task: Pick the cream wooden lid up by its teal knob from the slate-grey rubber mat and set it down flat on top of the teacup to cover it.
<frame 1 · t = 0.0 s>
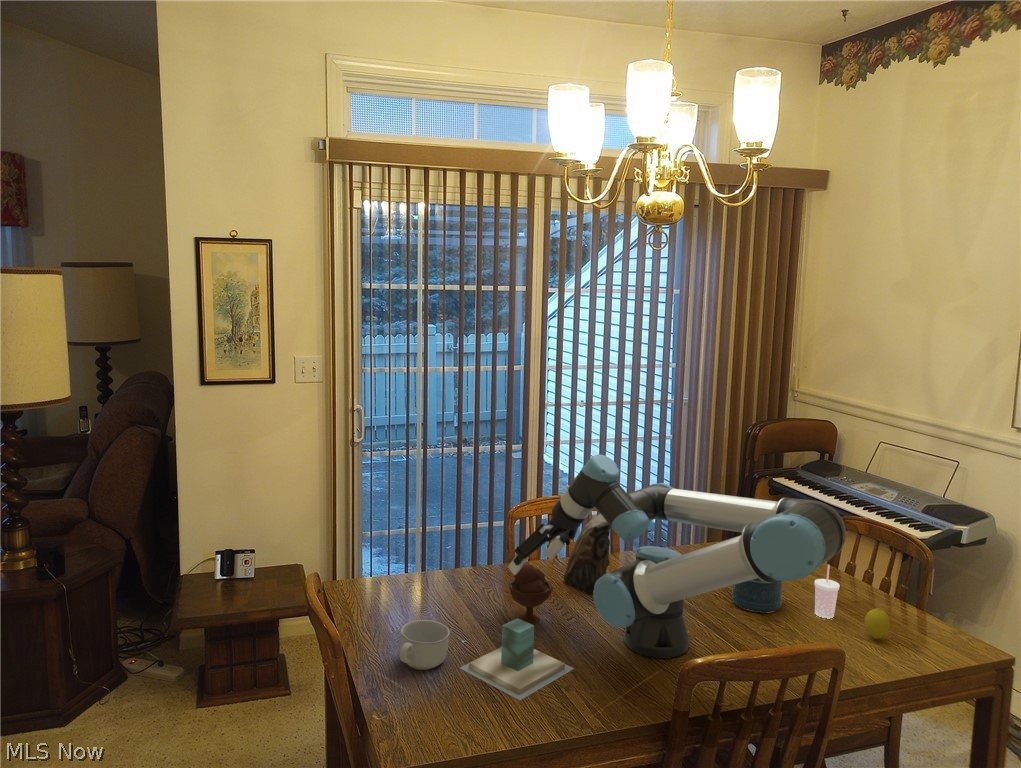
hand: (530, 563, 189), 15 cm above the table, tool tilted 35°, fingers open, 13 cm apart
lid: (517, 668, 168), resting on mat
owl: (586, 584, 216), on the table
canister: (756, 604, 206), on the table
lemon: (875, 639, 187), on the table
beverage cup: (824, 616, 199), on the table
teacup: (419, 667, 168), on the table
ice cream bowl: (529, 621, 192), on the table
mat: (516, 669, 168), on the table
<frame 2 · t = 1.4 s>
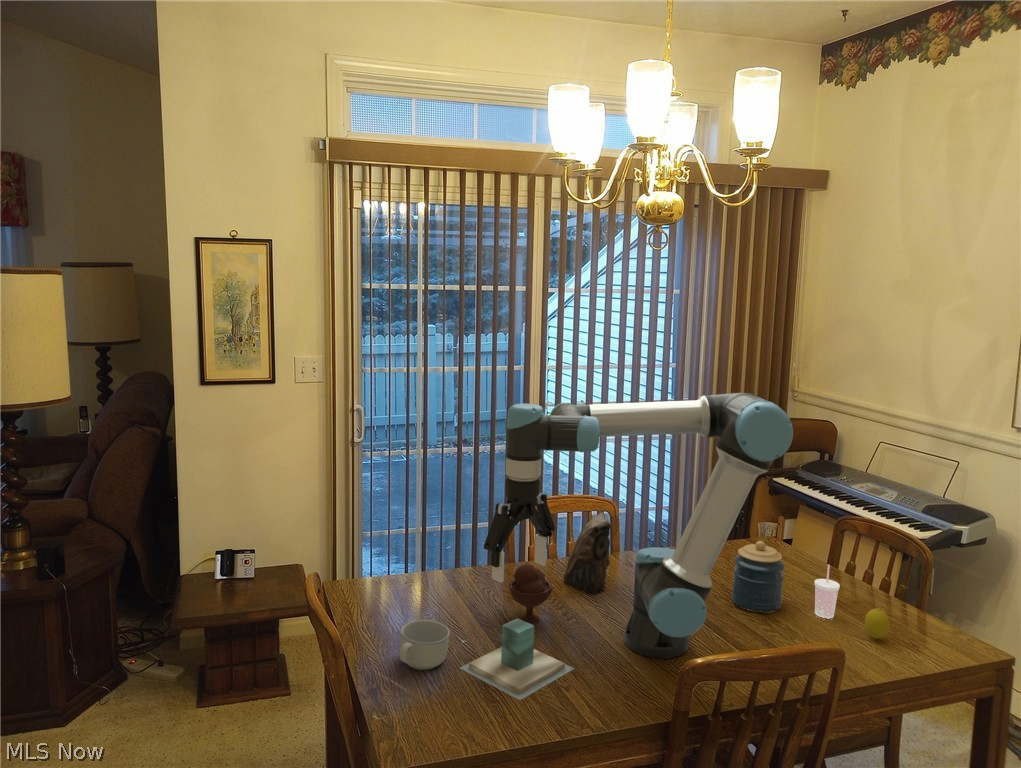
hand: (519, 572, 165), 23 cm above the table, tool pointing down, fingers open, 13 cm apart
nothing on the table moved.
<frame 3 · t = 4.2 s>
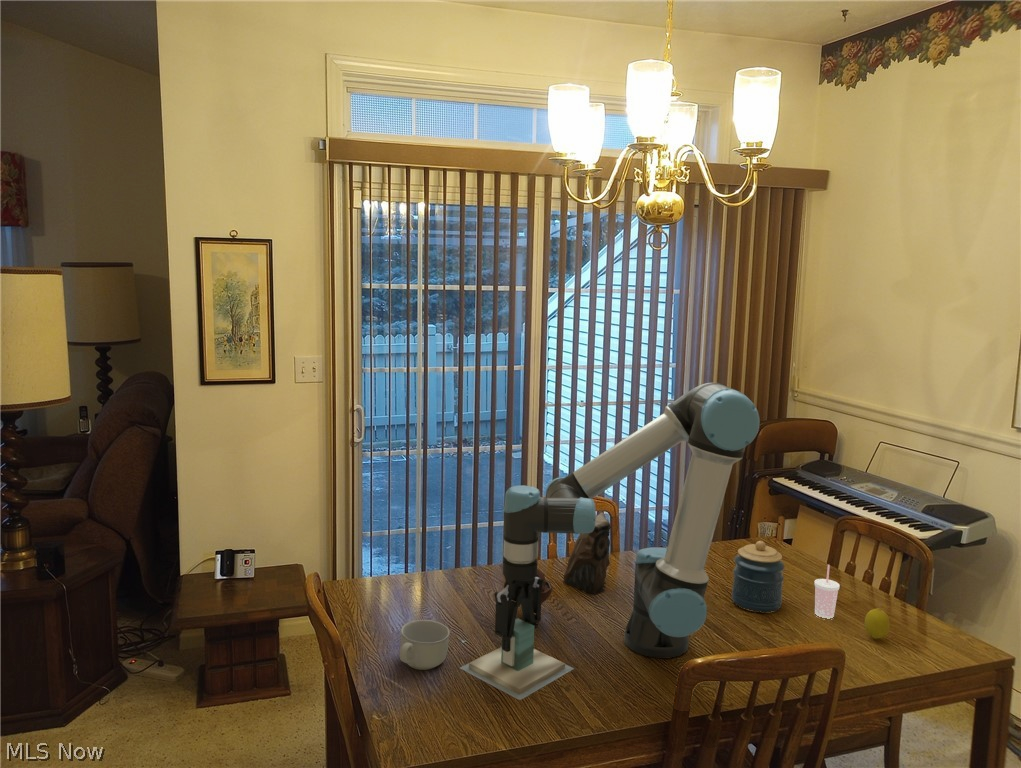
hand: (517, 658, 167), 3 cm above the table, tool pointing down, fingers closed on lid, 5 cm apart
lid: (517, 668, 168), resting on mat, touching gripper
everything else where it was.
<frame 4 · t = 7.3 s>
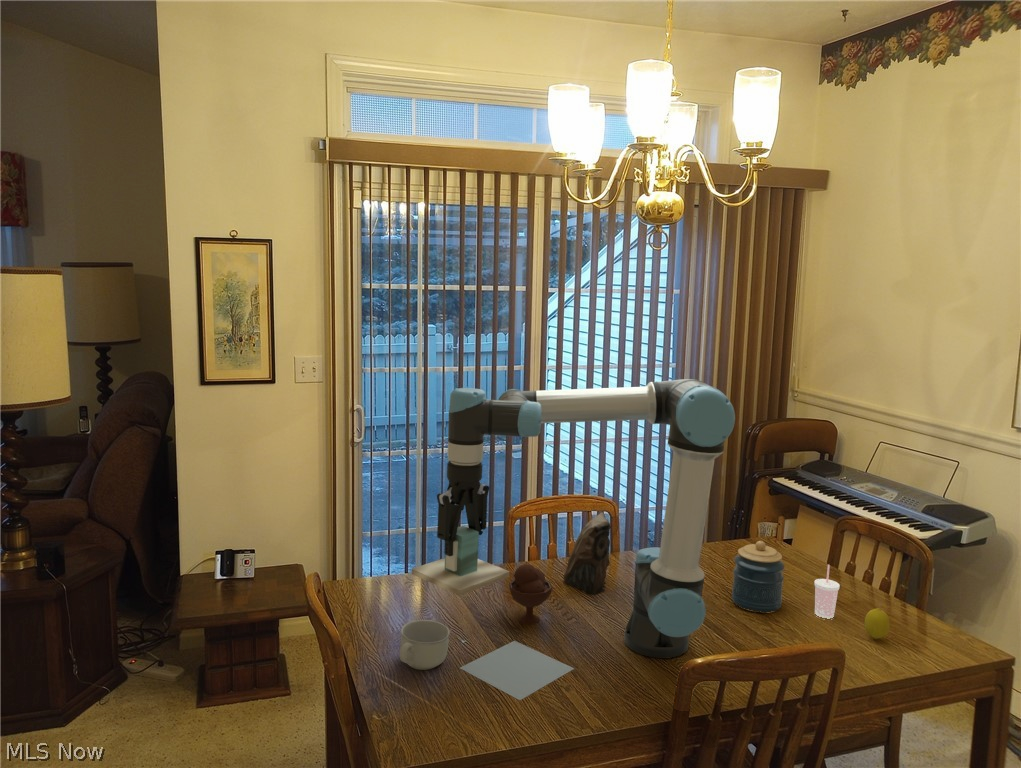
hand: (460, 565, 165), 24 cm above the table, tool pointing down, fingers closed on lid, 5 cm apart
lid: (460, 575, 165), point 21 cm above the table, touching gripper
everything else where it was.
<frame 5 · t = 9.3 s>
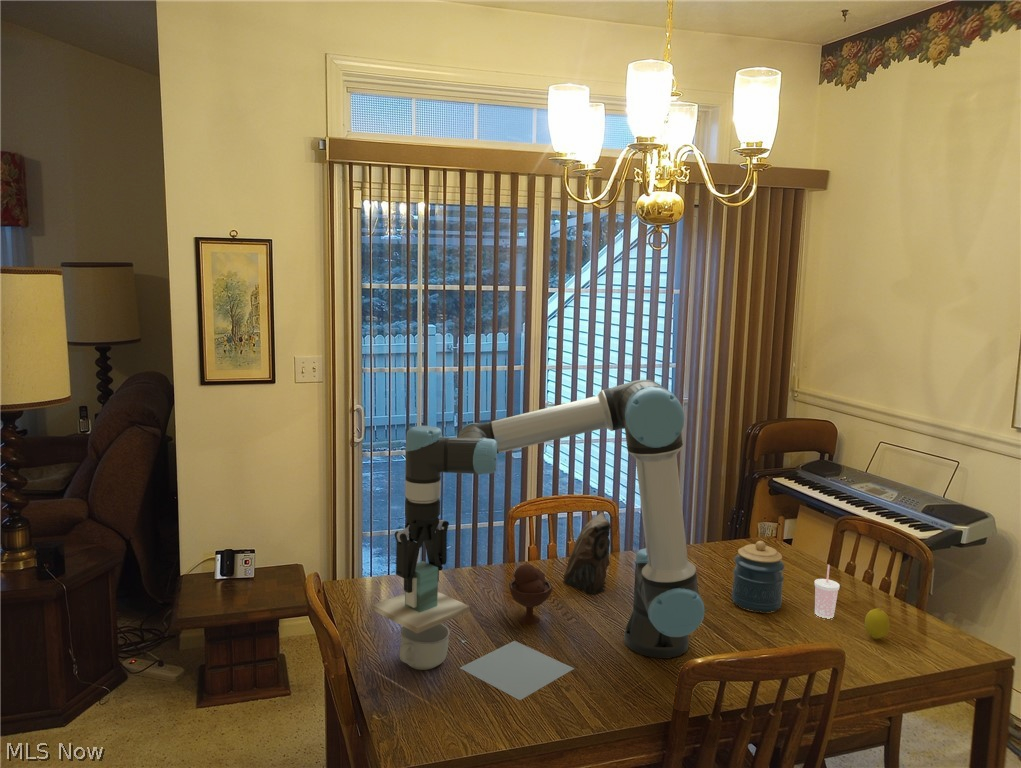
hand: (421, 601, 166), 15 cm above the table, tool pointing down, fingers closed on lid, 5 cm apart
lid: (421, 610, 166), point 13 cm above the table, touching gripper
everything else where it was.
when the fingers open (12 cm above the table, at t = 10.6 s): lid drops 2 cm, resting on teacup.
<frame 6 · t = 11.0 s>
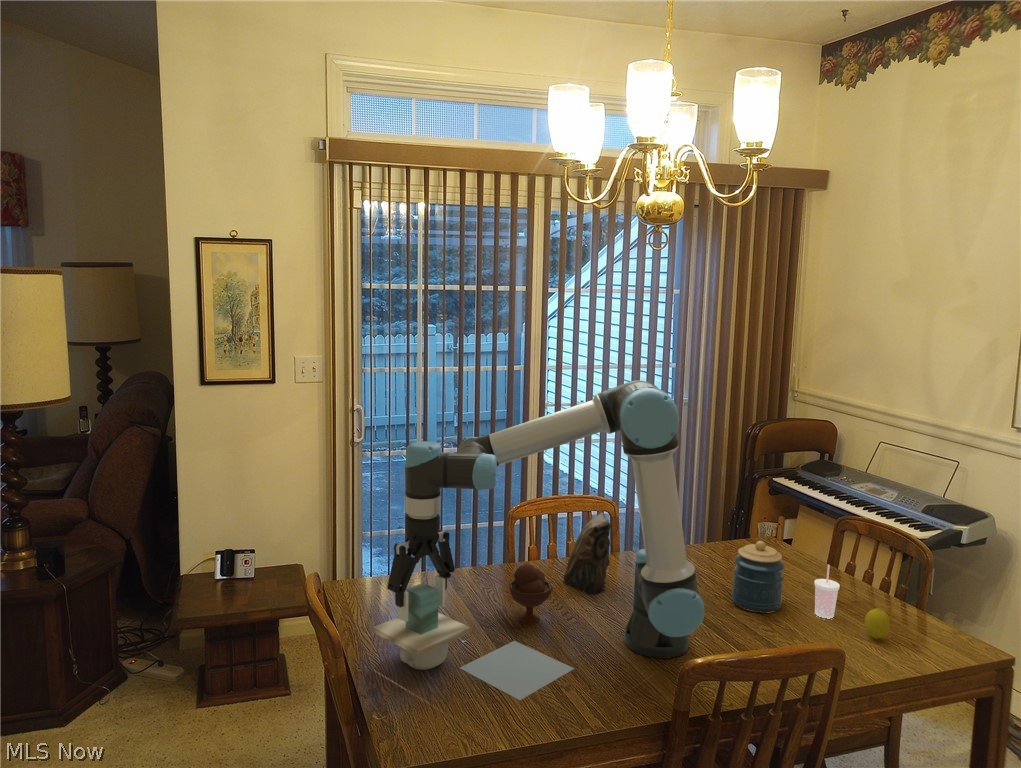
hand: (421, 611, 166), 13 cm above the table, tool pointing down, fingers open, 10 cm apart
lid: (421, 632, 167), point 8 cm above the table, touching teacup
teacup: (420, 667, 168), on the table, touching lid
everything else where it was.
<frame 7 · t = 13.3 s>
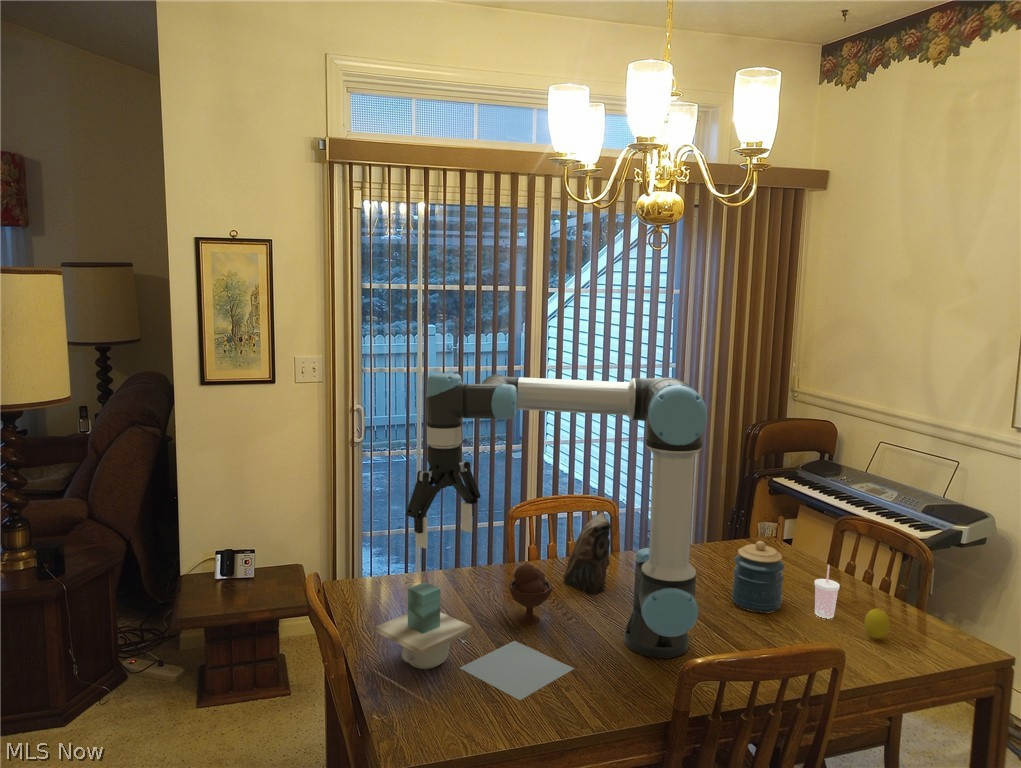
hand: (445, 538, 168), 28 cm above the table, tool pointing down, fingers open, 13 cm apart
nothing on the table moved.
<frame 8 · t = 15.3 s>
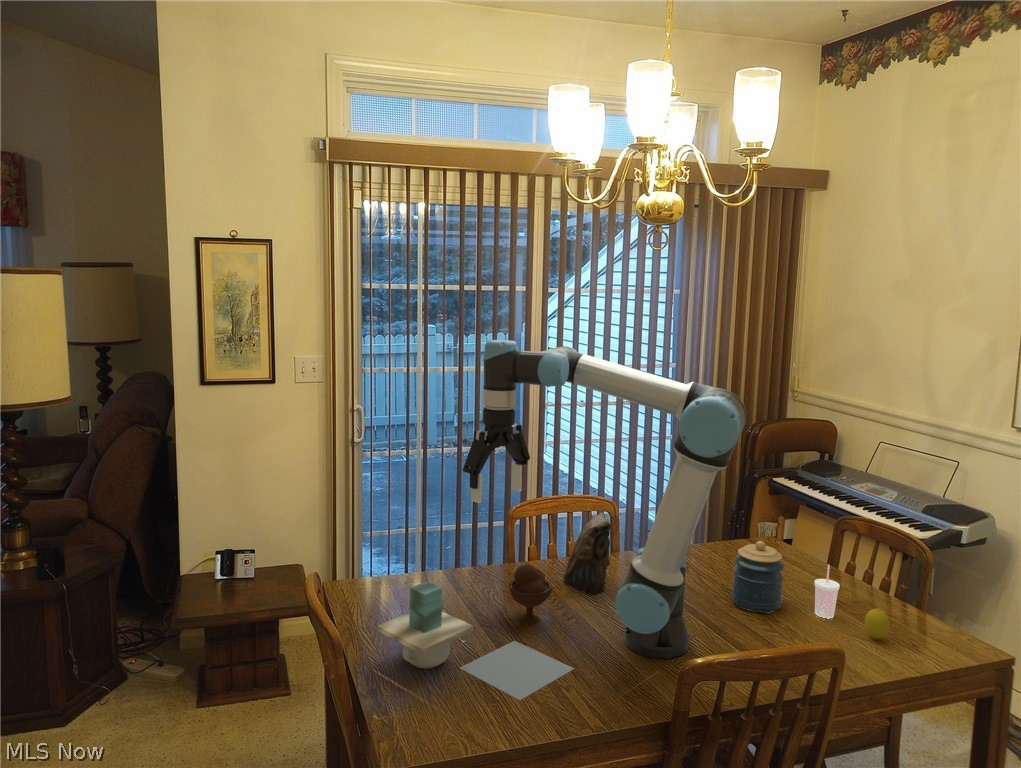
hand: (496, 496, 179), 35 cm above the table, tool pointing down, fingers open, 13 cm apart
nothing on the table moved.
at the end: lid inside the target area on the teacup (0.6 cm from its centre), point 8.2 cm above the teacup's base; lid tilted 0°; the gripper is holding nothing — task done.
